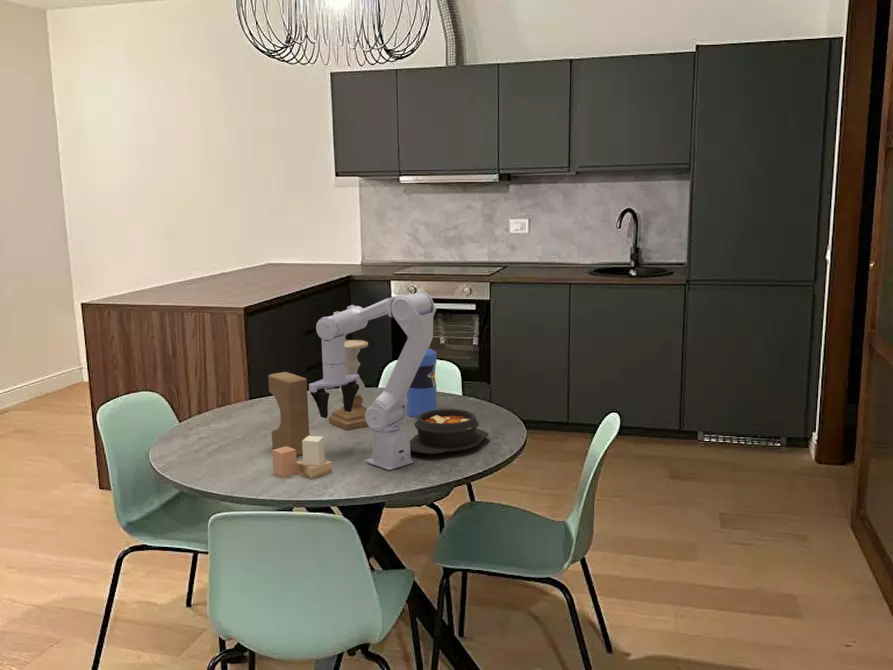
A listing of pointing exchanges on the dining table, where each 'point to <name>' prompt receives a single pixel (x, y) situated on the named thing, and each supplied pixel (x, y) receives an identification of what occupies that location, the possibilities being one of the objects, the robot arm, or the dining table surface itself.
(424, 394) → the water bottle
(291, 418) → the decorative block
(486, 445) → the dining table surface
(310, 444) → the cream cube
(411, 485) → the dining table surface
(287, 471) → the terracotta cube
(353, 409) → the candle holder
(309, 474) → the oak block
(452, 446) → the casserole
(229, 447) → the dining table surface
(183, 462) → the dining table surface
